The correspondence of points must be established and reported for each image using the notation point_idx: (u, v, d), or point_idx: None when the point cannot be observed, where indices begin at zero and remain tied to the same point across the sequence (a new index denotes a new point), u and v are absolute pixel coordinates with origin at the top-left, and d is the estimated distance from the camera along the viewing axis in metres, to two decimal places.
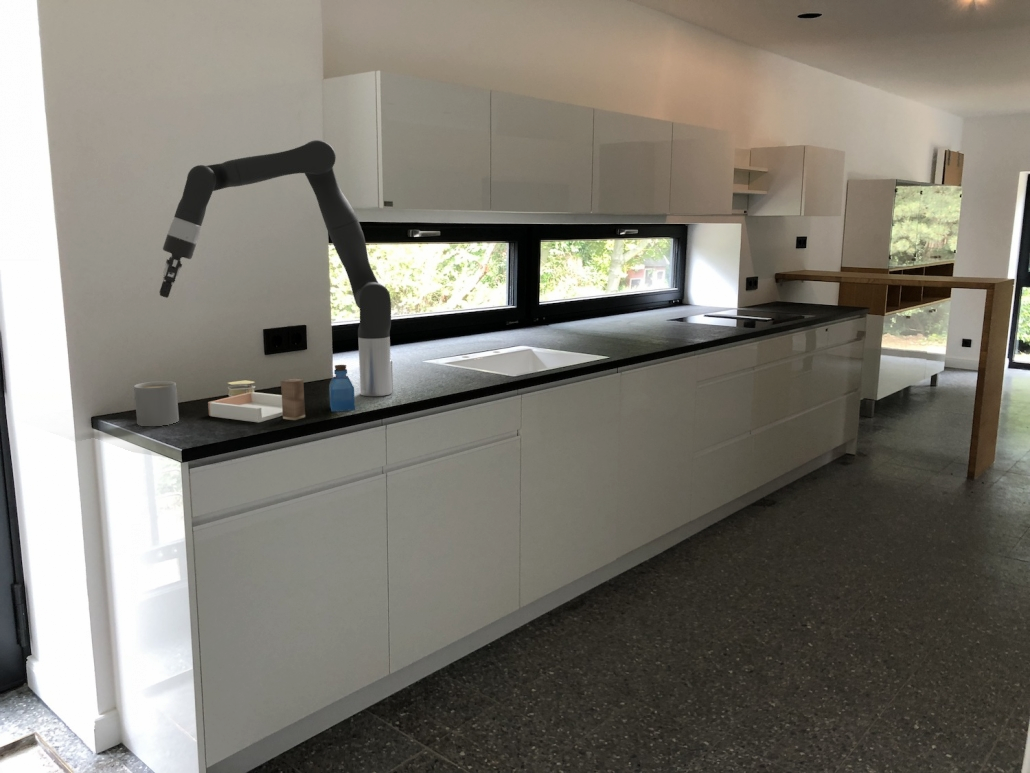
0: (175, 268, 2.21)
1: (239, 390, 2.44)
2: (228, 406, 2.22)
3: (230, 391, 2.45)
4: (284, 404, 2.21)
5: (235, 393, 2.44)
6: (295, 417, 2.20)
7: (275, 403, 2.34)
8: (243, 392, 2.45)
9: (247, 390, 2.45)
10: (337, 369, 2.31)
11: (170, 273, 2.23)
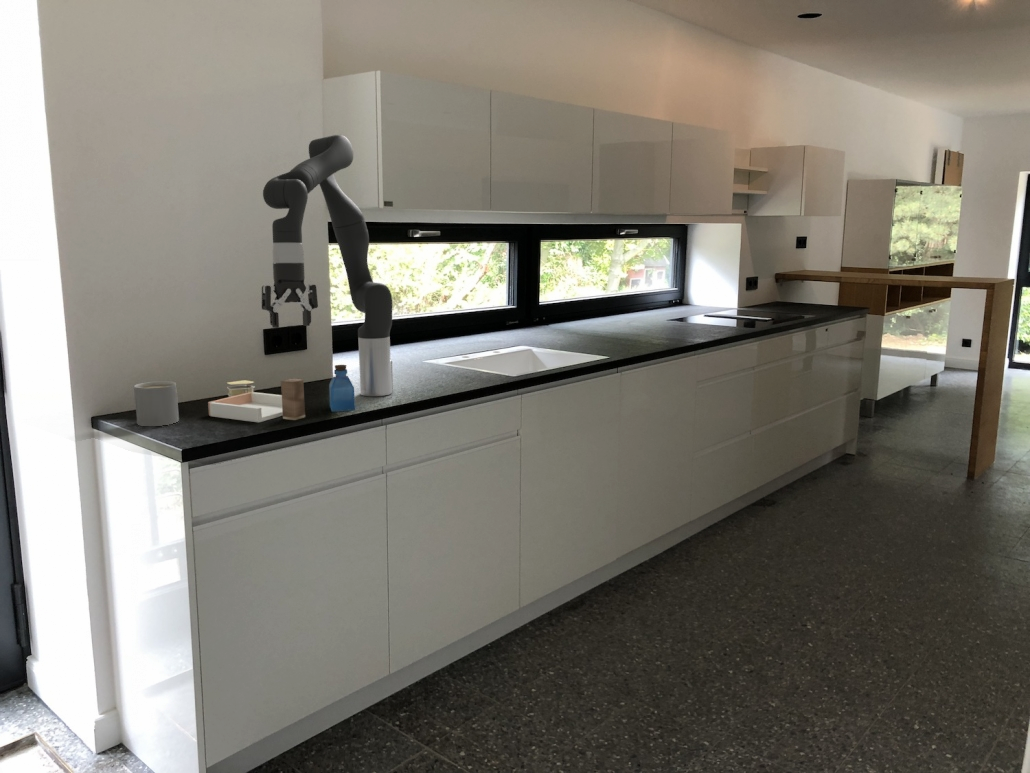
0: None
1: (238, 390, 2.45)
2: (228, 406, 2.22)
3: (229, 391, 2.45)
4: (284, 404, 2.21)
5: (234, 393, 2.44)
6: (295, 417, 2.20)
7: (275, 403, 2.34)
8: (242, 392, 2.45)
9: (246, 390, 2.45)
10: (337, 369, 2.31)
11: None
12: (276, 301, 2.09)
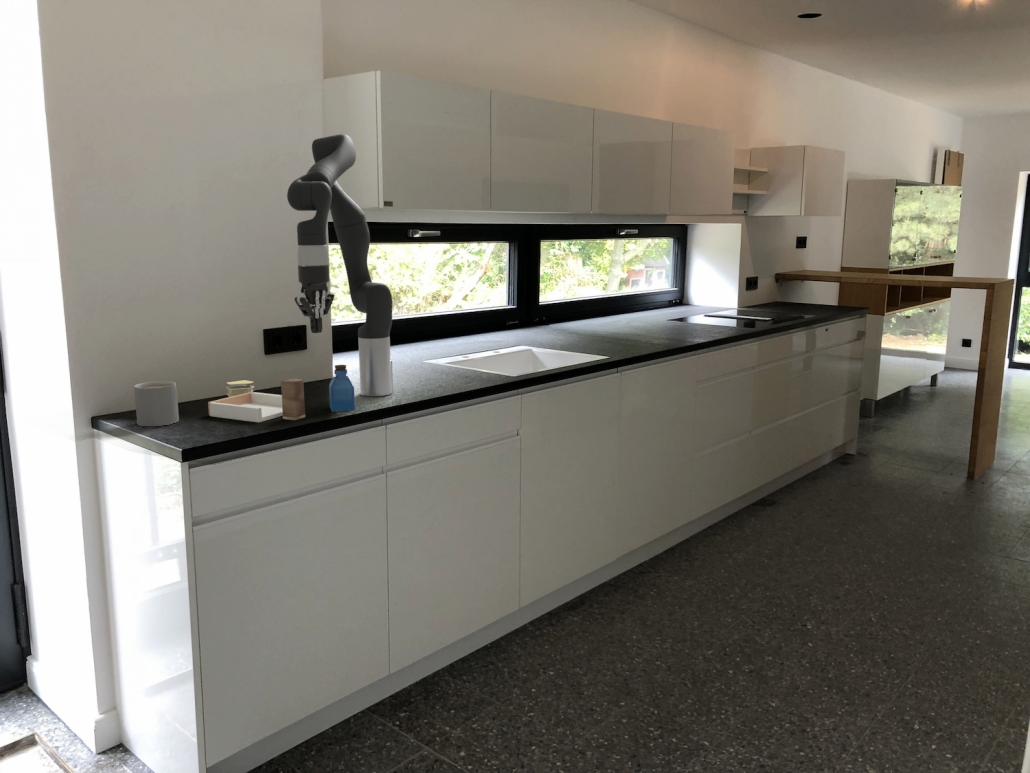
0: None
1: (238, 390, 2.45)
2: (228, 406, 2.22)
3: (229, 391, 2.45)
4: (284, 404, 2.21)
5: (234, 393, 2.44)
6: (295, 417, 2.20)
7: (275, 403, 2.34)
8: (242, 392, 2.45)
9: (246, 390, 2.45)
10: (337, 369, 2.31)
11: None
12: (312, 308, 2.12)
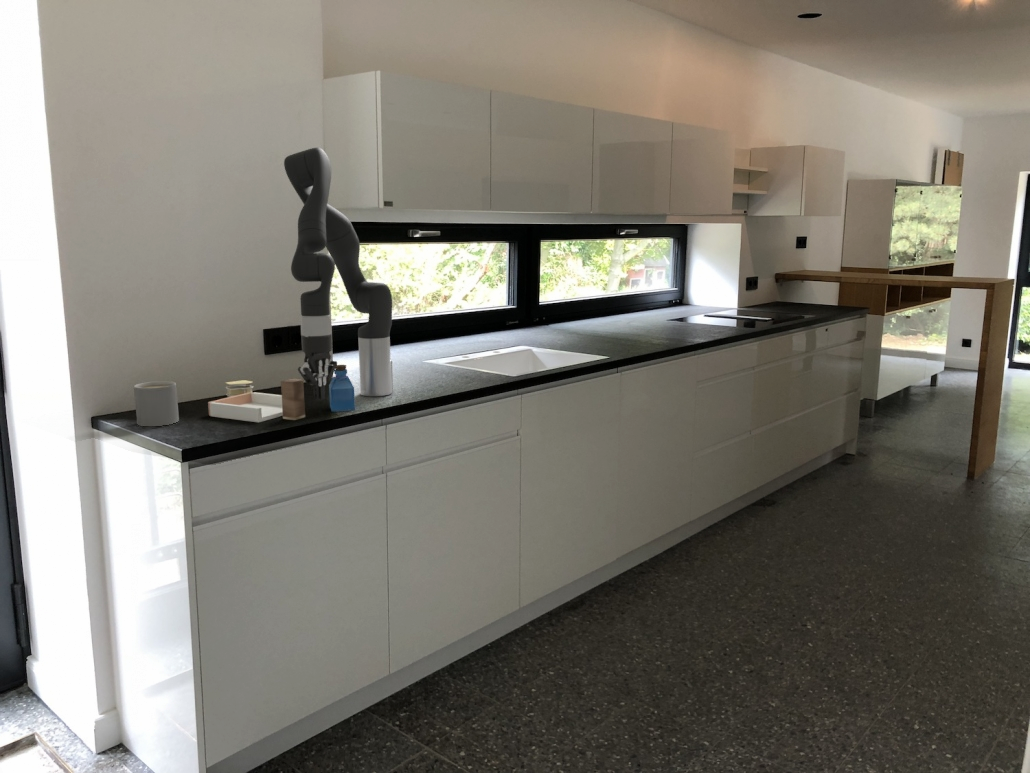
0: None
1: (237, 390, 2.45)
2: (228, 406, 2.22)
3: (228, 391, 2.45)
4: (284, 404, 2.21)
5: (233, 393, 2.44)
6: (295, 417, 2.20)
7: (275, 403, 2.34)
8: (241, 392, 2.45)
9: (245, 390, 2.45)
10: (337, 369, 2.31)
11: None
12: (315, 376, 2.15)
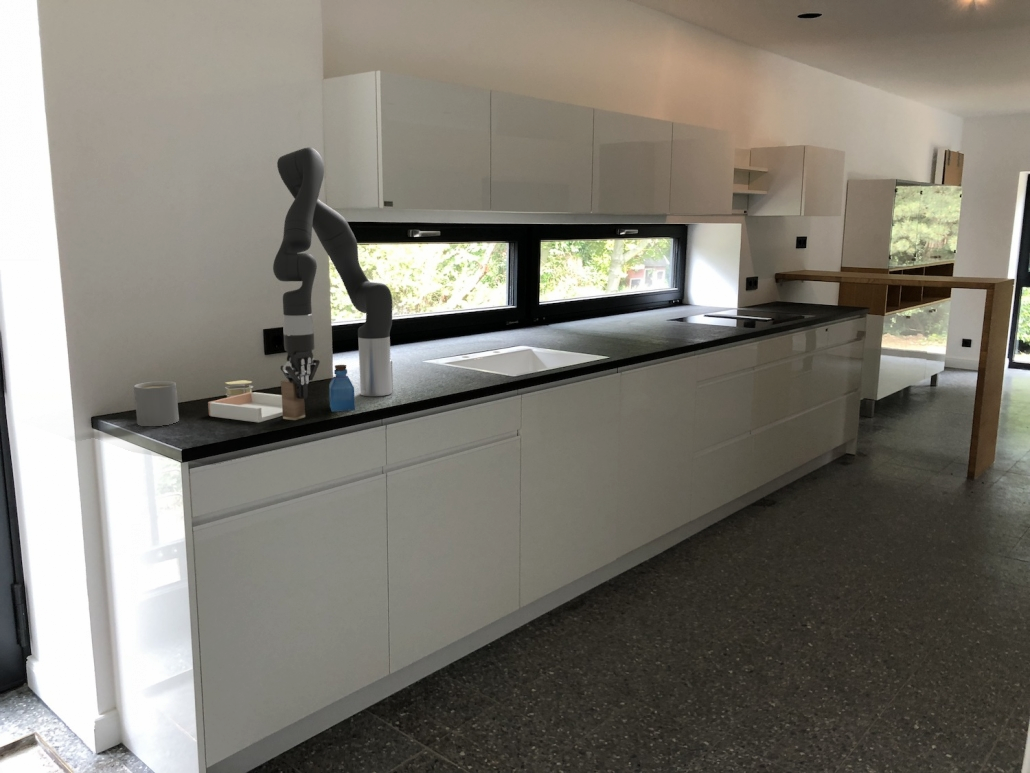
0: None
1: (236, 390, 2.45)
2: (228, 406, 2.22)
3: (228, 391, 2.45)
4: (284, 404, 2.21)
5: (232, 393, 2.44)
6: (295, 417, 2.20)
7: (275, 403, 2.34)
8: (240, 392, 2.45)
9: (244, 390, 2.45)
10: (337, 369, 2.31)
11: None
12: (298, 375, 2.18)
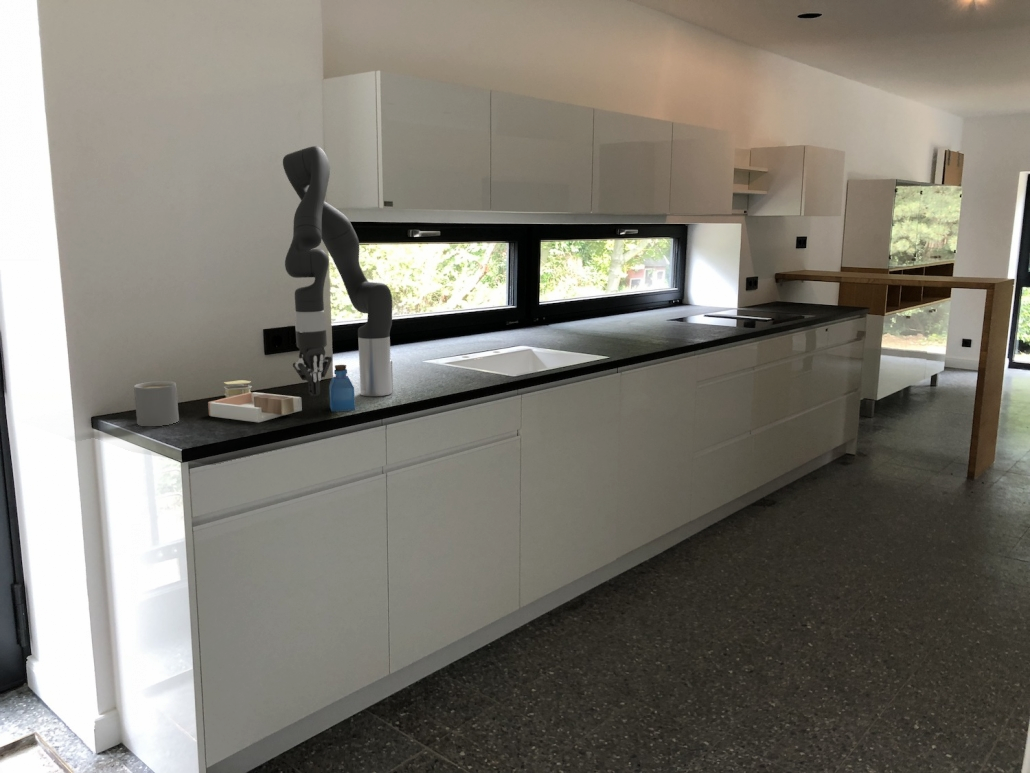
0: None
1: (235, 390, 2.45)
2: (228, 406, 2.22)
3: (226, 391, 2.46)
4: (272, 410, 2.23)
5: (231, 393, 2.44)
6: (281, 399, 2.21)
7: None
8: (239, 392, 2.46)
9: (243, 390, 2.45)
10: (337, 369, 2.31)
11: None
12: (310, 372, 2.16)
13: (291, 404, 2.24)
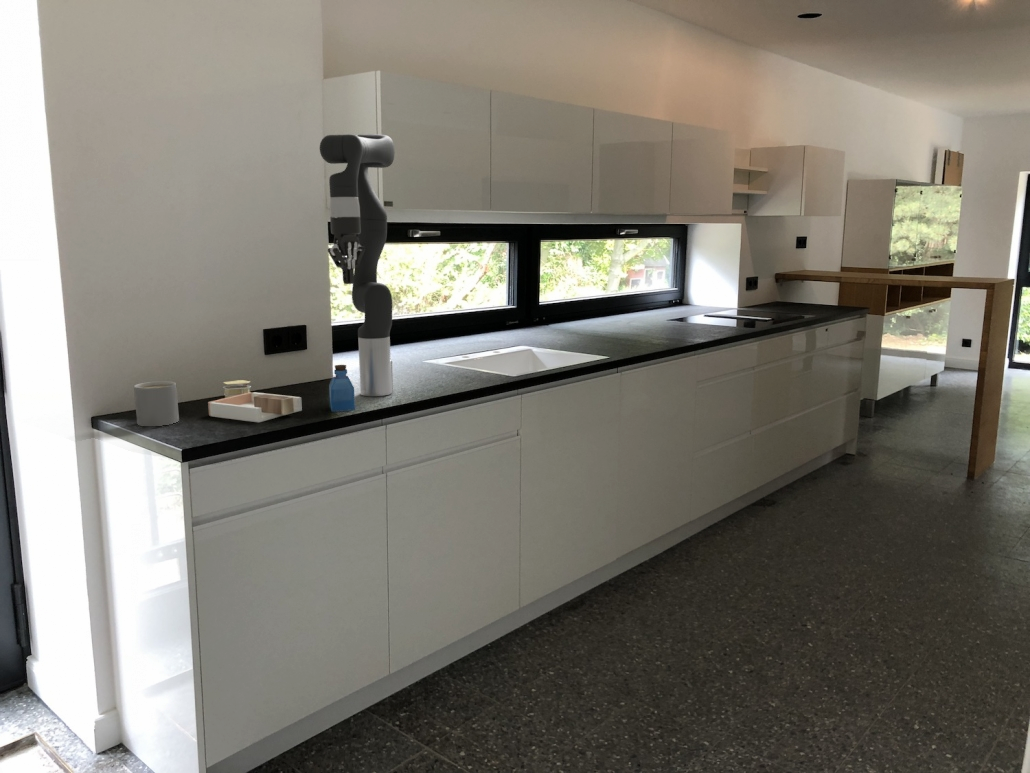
0: None
1: (235, 390, 2.45)
2: (228, 406, 2.22)
3: (226, 391, 2.46)
4: (272, 410, 2.23)
5: (231, 393, 2.44)
6: (281, 399, 2.21)
7: None
8: (239, 392, 2.46)
9: (243, 390, 2.46)
10: (337, 369, 2.31)
11: None
12: (344, 259, 2.17)
13: (291, 404, 2.24)
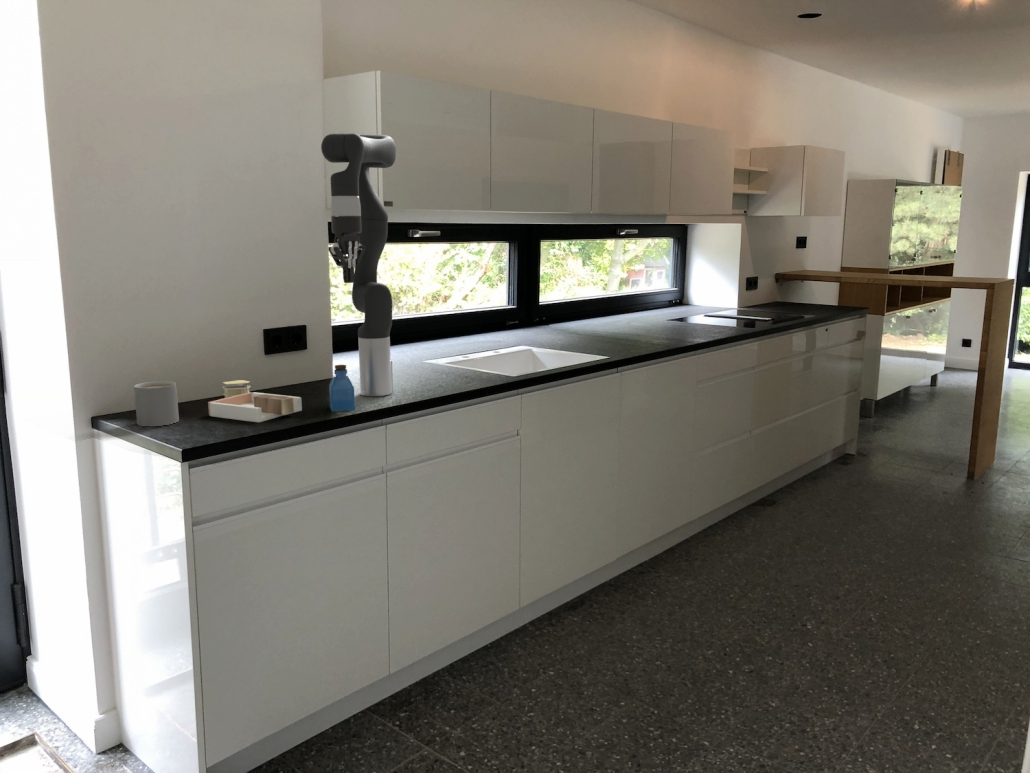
0: None
1: (234, 390, 2.45)
2: (228, 406, 2.22)
3: (225, 391, 2.46)
4: (272, 410, 2.23)
5: (230, 393, 2.44)
6: (281, 399, 2.21)
7: None
8: (238, 392, 2.46)
9: (242, 390, 2.46)
10: (337, 369, 2.31)
11: None
12: (345, 258, 2.17)
13: (291, 404, 2.24)
